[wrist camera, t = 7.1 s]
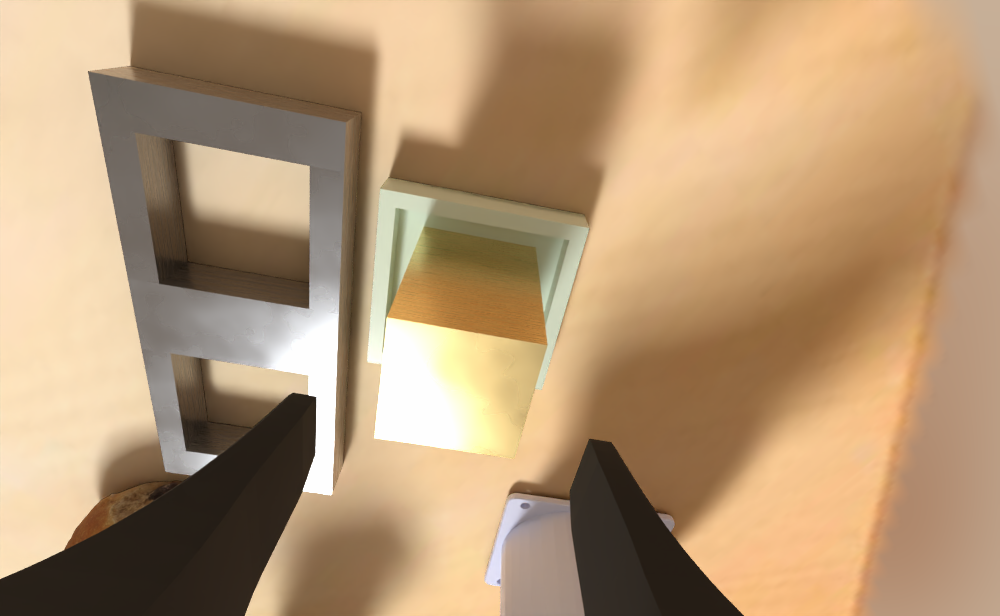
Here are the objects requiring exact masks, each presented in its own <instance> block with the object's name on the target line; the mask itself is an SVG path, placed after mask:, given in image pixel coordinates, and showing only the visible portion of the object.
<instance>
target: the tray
mask: <svg viewBox="0 0 1000 616" xmlns="http://www.w3.org/2000/svg"><path fill="white" fill-rule="evenodd" d="M424 226H425V227H430V228H436V229H441V230H446V231H452V232H457V233H462V234H467V235H473V236H478V237H483V238H489V239H494V240H499V241H504V242H510V243H515V244H520V245H525V246H531V247H536V253H537V262H538V270H539V278H540V286H541V295H542V303H543V311H544V319H545V327H546V336H547V344H548V346H547V349H546V353H545V356H544V360H543V363H542V366H541V370H540V373H539V377H538V380H537V383H536V387H535V389H539V390H542V387H543V384H544V381H545V377H546V374H547V370H548V367H549V364H550V360H551V357H552V353H553V350H554V347H555V343H556V340H557V336H558V333H559V330H560V326H561V323H562V320H563V316H564V313H565V309H566V306H567V303H568V299H569V296H570V292H571V289H572V286H573V282H574V279H575V275H576V272H577V269H578V265H579V262H580V258H581V255H582V252H583V248H584V245H585V242H586V238H587V235H588V231H589V226H588V223H587V221H586V218H585V216H584V214H578V213H573V212H568V211H563V210H558V209H552V208H547V207H542V206H537V205H531V204H526V203H521V202H516V201H510V200H505V199H500V198H495V197H489V196H484V195H479V194H474V193H468V192H463V191H458V190H453V189H448V188H442V187H437V186H432V185H427V184H421V183H416V182H411V181H406V180H400V179H395V178H390V177H389V178H388V179H387V180H386V182H385V183H384V184H383V185H382V187H381V188H380V197H379V210H378V223H377V237H376V250H375V263H374V277H373V290H372V303H371V317H370V330H369V343H368V357H367V362H371V363H378V364H382V361H383V351H384V341H385V331H386V321H387V316H388V313H389V311H390V308H391V306H392V304H393V301H394V299H395V296H396V294H397V291H398V289H399V286H400V284H401V281H402V279H403V276H404V274H405V272H406V269H407V267H408V264H409V262H410V259H411V257H412V254H413V252H414V249H415V247H416V244H417V242H418V240H419V237H420V235H421V232H422V230H423V227H424Z"/></svg>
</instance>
